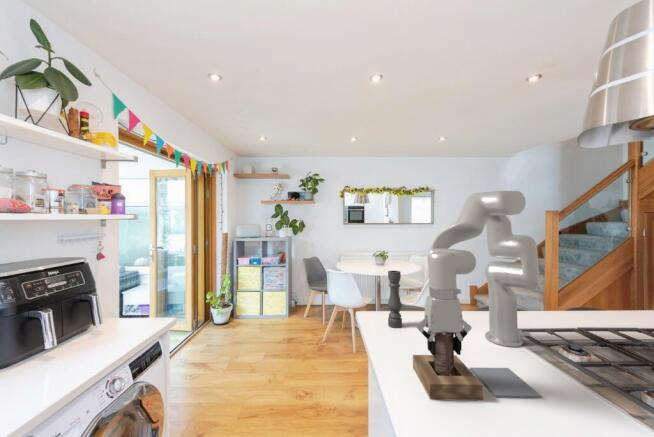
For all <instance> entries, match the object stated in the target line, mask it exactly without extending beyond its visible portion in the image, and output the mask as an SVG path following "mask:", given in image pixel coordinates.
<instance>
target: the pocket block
mask: <svg viewBox="0 0 654 437" xmlns="http://www.w3.org/2000/svg"><path fill="white" fill-rule="evenodd" d="M412 368H413V370H414V373H415V374H416V375H417V378H418V379H419V382H420V383H421V385H422V387H423V388H424V390H425V393H426V394H427V396H428V397H429V398H428V399H429V400H462V401H463V400H465V401H466V400H467V401H468V400H470V401H471V400H473V401H476V400H477V401H478V400H479V401H482V400H483V401H484V388H483V387H484V386H483V385H484V384H483V383H482V382H481V381H480V380H479V378H478V377H477V376H476V375H475V374H474V373H473V372H472V371H471V370H470V368H468V367H467V366H466V364H465V363H464V362H463V361H462V360H461V359H460V358H459V357H458V356H457V354H454V369H453V371H452V373H451V374H450V376H444V375H440V374H439V373H436V372H434V355H432V354H412Z"/></svg>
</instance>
